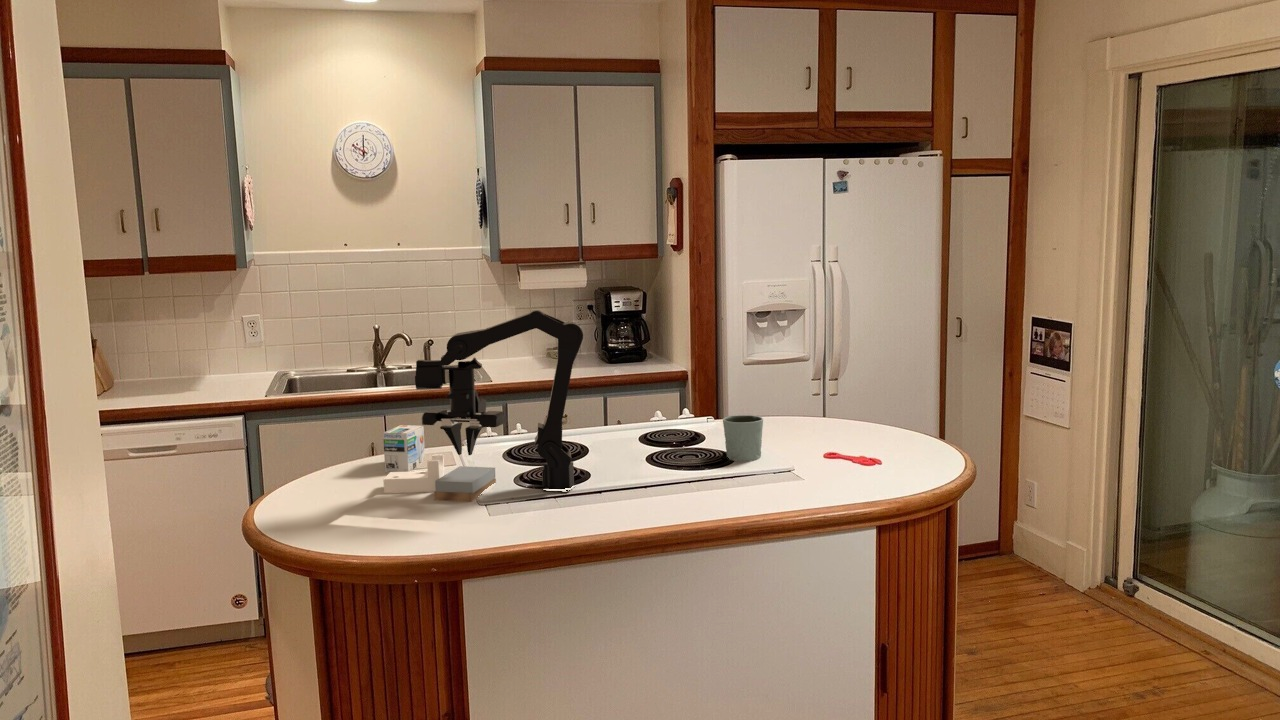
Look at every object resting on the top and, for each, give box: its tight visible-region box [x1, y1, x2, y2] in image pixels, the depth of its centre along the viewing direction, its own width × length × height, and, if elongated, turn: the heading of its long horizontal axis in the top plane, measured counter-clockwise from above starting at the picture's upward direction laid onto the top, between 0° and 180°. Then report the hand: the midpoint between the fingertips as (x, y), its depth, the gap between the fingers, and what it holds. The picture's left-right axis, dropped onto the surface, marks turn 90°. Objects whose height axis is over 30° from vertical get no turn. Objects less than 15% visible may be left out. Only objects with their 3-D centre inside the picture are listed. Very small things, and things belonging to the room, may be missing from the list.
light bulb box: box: [382, 424, 426, 473], centre depth 251 cm, size 11×7×11 cm, turn 168°
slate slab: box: [435, 465, 496, 493], centre depth 227 cm, size 9×14×2 cm, turn 167°
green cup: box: [722, 414, 764, 463], centre depth 249 cm, size 10×10×12 cm
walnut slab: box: [433, 477, 497, 503], centre depth 227 cm, size 9×14×2 cm, turn 165°
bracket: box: [383, 453, 446, 494], centre depth 232 cm, size 13×7×8 cm, turn 92°
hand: (465, 454), depth 226 cm, fingers closed
